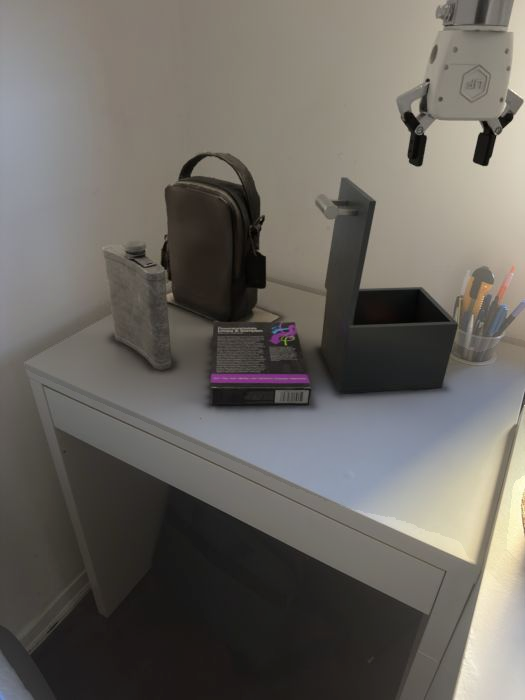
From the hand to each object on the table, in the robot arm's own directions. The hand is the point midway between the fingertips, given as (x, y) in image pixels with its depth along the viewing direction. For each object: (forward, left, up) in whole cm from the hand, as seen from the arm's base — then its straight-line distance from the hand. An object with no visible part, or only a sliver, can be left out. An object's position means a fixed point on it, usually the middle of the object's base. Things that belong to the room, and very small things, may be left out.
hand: (447, 164), depth 70 cm
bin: (+8, +6, -29) cm, 31 cm away
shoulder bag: (+32, -17, -30) cm, 47 cm away
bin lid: (+15, +6, -10) cm, 19 cm away
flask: (+45, -2, -30) cm, 53 cm away
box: (+27, +5, -30) cm, 40 cm away
